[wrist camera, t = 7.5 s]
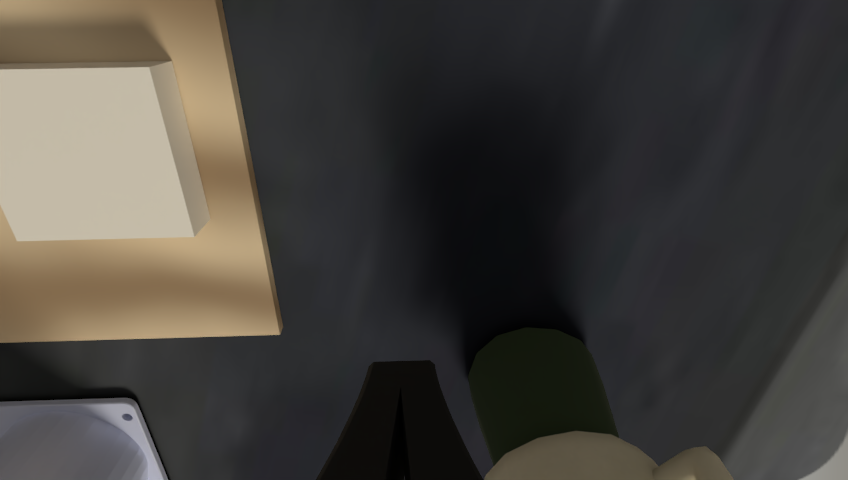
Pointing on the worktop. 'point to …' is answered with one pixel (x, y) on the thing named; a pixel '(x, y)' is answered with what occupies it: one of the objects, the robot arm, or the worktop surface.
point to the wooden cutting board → (145, 257)
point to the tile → (97, 152)
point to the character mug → (561, 416)
